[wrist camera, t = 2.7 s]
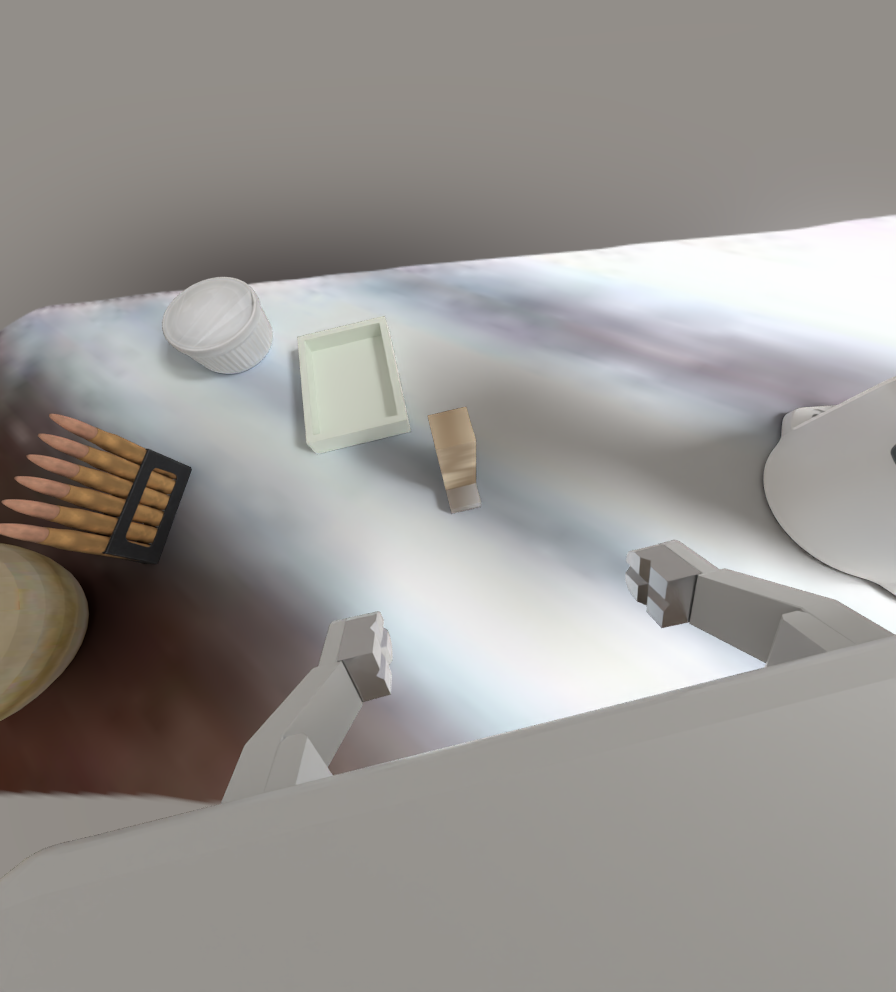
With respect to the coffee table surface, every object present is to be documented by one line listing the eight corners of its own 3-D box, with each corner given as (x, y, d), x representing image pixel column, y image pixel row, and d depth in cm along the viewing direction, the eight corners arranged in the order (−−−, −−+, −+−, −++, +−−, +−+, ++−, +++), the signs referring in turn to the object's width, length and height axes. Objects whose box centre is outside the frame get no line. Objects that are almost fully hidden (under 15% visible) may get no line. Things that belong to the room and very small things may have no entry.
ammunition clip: (177, 467, 37) (45, 403, 25) (192, 467, 37) (65, 404, 25) (141, 562, 33) (-31, 539, 22) (157, 564, 33) (-7, 540, 22)
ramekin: (272, 381, 40) (243, 348, 35) (187, 384, 41) (147, 353, 36) (289, 311, 43) (264, 272, 38) (210, 315, 44) (177, 278, 39)
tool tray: (389, 332, 41) (384, 315, 38) (411, 431, 36) (406, 419, 34) (307, 352, 41) (297, 336, 38) (317, 454, 36) (306, 443, 34)
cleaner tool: (464, 445, 35) (459, 385, 25) (480, 506, 32) (483, 464, 23) (436, 452, 35) (422, 394, 25) (451, 513, 32) (441, 474, 23)
